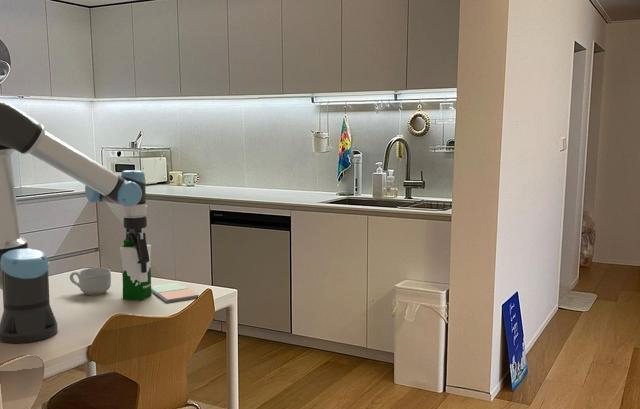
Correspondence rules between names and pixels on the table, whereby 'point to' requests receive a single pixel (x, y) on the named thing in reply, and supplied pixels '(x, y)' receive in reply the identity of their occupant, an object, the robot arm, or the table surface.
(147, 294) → the soya milk
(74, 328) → the table surface
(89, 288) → the teacup
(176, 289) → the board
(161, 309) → the table surface
